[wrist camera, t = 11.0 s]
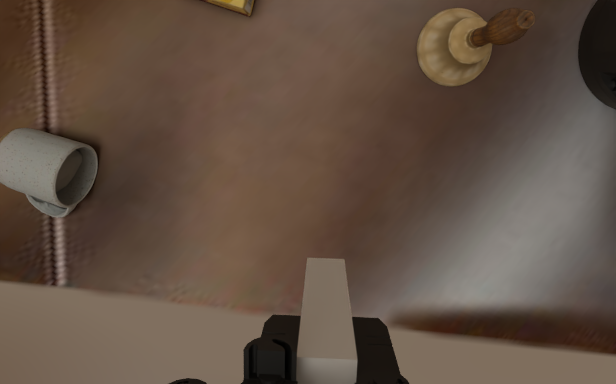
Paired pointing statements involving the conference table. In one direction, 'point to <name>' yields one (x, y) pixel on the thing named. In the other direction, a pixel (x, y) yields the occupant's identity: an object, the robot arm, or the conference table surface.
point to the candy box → (234, 5)
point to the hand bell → (466, 42)
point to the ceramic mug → (47, 169)
